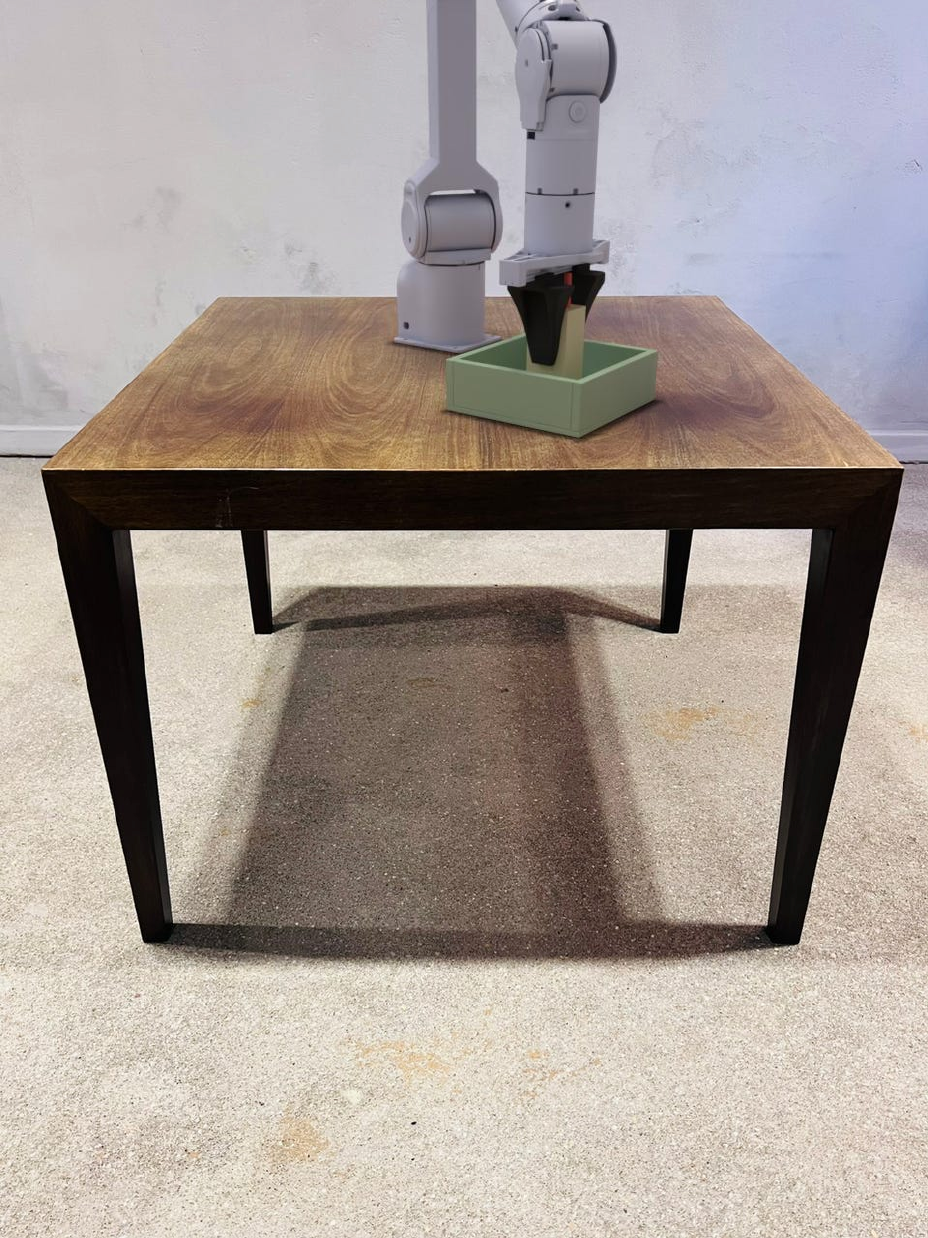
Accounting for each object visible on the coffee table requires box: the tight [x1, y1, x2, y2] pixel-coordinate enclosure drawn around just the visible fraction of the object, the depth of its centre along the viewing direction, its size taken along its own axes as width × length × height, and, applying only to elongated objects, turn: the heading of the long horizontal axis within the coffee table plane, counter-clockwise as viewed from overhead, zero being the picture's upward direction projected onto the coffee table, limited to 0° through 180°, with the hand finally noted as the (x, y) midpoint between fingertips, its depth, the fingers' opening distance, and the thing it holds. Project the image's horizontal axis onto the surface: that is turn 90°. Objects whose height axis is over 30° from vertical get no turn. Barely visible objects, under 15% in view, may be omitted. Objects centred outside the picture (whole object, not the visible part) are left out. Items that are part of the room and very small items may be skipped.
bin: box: [445, 332, 659, 439], centre depth 87 cm, size 14×14×4 cm
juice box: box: [526, 273, 586, 380], centre depth 85 cm, size 4×3×10 cm
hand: (553, 359), depth 86 cm, fingers closed on juice box, 3 cm apart
